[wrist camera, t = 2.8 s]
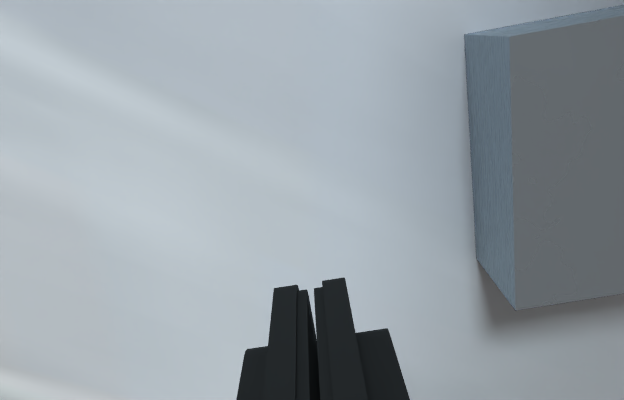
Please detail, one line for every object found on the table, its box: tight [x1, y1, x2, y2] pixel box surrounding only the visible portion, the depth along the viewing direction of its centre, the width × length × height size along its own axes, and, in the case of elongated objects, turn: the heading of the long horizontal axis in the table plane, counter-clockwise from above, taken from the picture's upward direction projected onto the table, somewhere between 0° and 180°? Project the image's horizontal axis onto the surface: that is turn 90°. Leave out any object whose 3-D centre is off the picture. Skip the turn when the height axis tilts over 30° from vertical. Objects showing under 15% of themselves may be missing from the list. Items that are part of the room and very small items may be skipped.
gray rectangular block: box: [464, 5, 624, 311], centre depth 18 cm, size 10×8×4 cm
